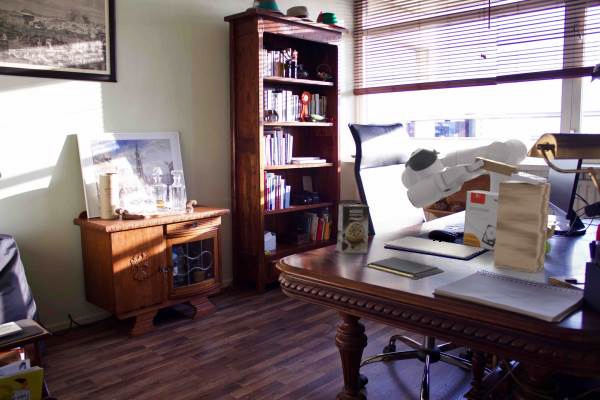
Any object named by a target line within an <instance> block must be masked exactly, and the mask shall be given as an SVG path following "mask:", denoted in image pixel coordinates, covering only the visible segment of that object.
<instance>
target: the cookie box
mask: <svg viewBox="0 0 600 400" xmlns="http://www.w3.org/2000/svg"><path fill="white" fill-rule="evenodd" d="M369 214H370V206H368V205H366V204H363V203H360V204H357V203H353V204H352V203H349V204H348V203H346V204H345V203H339V204H338V219H337V220H338V221H337V222H338V223H337V241H336V244H337V246H336V250H337V251H338V252H339V253H340V254H343V255H345V254H367V253H368V242H369V241H368V240H369V239H368V238H369V237H368V235H369V218H370V217H369Z"/></svg>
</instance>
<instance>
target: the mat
mask: <svg viewBox="0 0 600 400" xmlns="http://www.w3.org/2000/svg"><path fill="white" fill-rule="evenodd" d="M433 240H434V239H428V238H421V237H417V236H416V237H415V236H411V235H410V236H405V237H401V238H399V239H398V238H397V239H396V240H391V241H389V242H385V243H384V245H387V246H391V247H398V248H403V249H410V250H415V251H421V252H426V253H432V254H437V255H443V256H447V257H449V256H450V257H454V258H455V257H456V258H458V259H459V258H461V259H465V258H468V257H470V256H472V254H473V255H474V253H475V254H477V253H479V251H480V252H482V251H484V250H485V248H480V247H476V246H470V245H466V244H460V243H459V244H458V243H452V242H446V241H441V242H439V241H440V240H435V241H433ZM476 252H477V253H476Z"/></svg>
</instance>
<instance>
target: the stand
mask: <svg viewBox="0 0 600 400" xmlns="http://www.w3.org/2000/svg"><path fill="white" fill-rule="evenodd" d="M551 186H552V184H551V183H546V184H542V185H534V184H530V183H526V182H523V181H507V182H501V183H499V196H498V211H497V226H496V240H495V251H494V255H493V257H494V258H493V267H498V268H504V269H510V270H515V271H520V272H526V273H532V274H535V273H537V272H539V271H540V270H542V269H543V268H545V261H546V255H545V250H546V237H547V227H548V222H549V211H550V198H551Z"/></svg>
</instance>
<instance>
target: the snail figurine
mask: <svg viewBox="0 0 600 400" xmlns="http://www.w3.org/2000/svg"><path fill="white" fill-rule="evenodd" d="M553 223H554V224H552V225H550V228H549V227H548V226H547V237H546V250H545V256H546V255H548V254H549V253H550V252H551V251H552V245H551V243H550V242H549V240H550V239H551V238H552V237H553V235H554V233H555V229H556V223H557V221H553Z"/></svg>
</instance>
